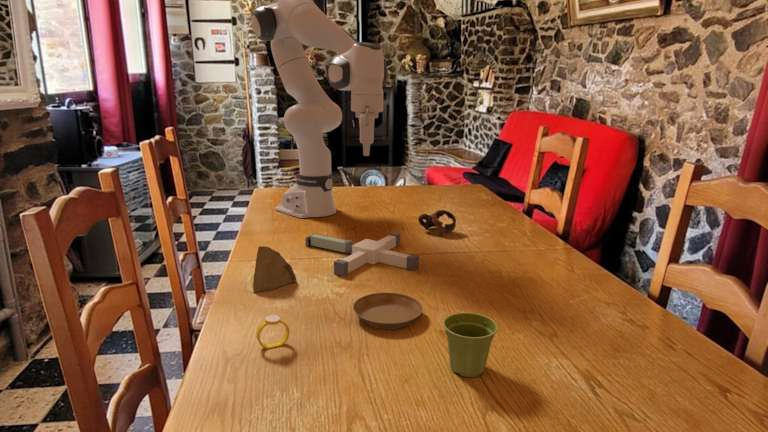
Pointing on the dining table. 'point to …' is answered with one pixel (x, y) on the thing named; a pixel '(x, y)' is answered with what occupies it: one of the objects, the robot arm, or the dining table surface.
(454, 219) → the pottery mug
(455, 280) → the dining table surface
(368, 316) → the plant saucer
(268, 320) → the gold ring
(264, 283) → the rock
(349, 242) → the hinged leg
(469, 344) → the plant pot
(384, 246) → the stool base
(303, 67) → the robot arm
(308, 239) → the leg socket
